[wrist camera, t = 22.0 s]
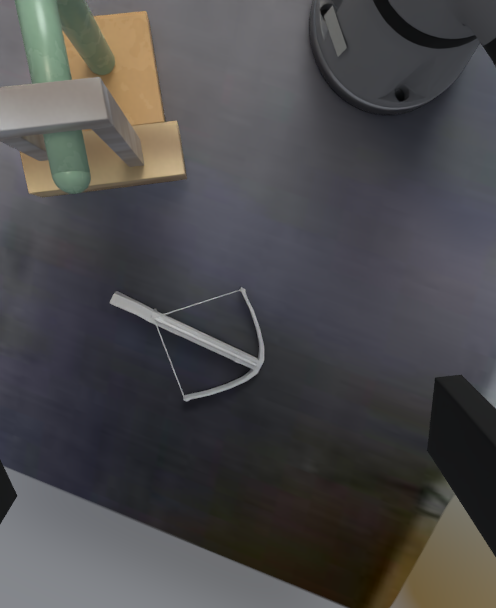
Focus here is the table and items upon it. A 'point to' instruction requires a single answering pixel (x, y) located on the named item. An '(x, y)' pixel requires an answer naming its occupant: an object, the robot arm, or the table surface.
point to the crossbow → (198, 339)
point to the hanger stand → (89, 70)
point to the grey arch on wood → (87, 136)
